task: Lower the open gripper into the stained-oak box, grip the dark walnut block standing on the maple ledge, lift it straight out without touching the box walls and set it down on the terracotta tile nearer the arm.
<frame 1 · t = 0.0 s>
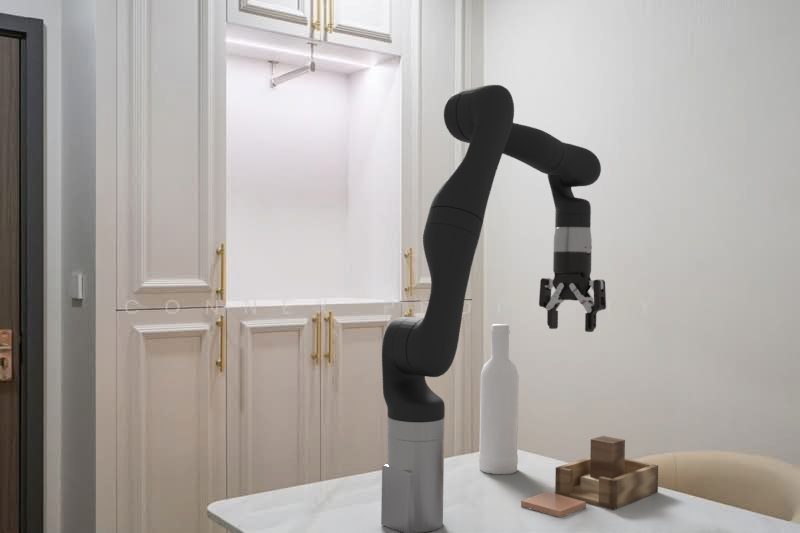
hand: (571, 330, 155), 29 cm above the table, fingers open, 8 cm apart
bottle: (497, 470, 158), on the table
oak box: (607, 493, 142), on the table
terracotta tile: (553, 506, 133), on the table
walnut block: (607, 477, 142), point 3 cm above the table, touching oak box
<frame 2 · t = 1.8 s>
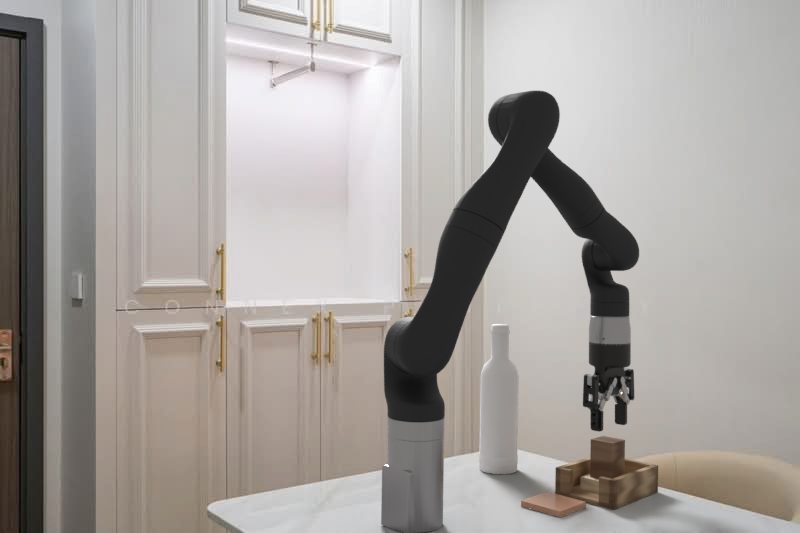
hand: (609, 427, 142), 12 cm above the table, fingers open, 8 cm apart
nothing on the table moved.
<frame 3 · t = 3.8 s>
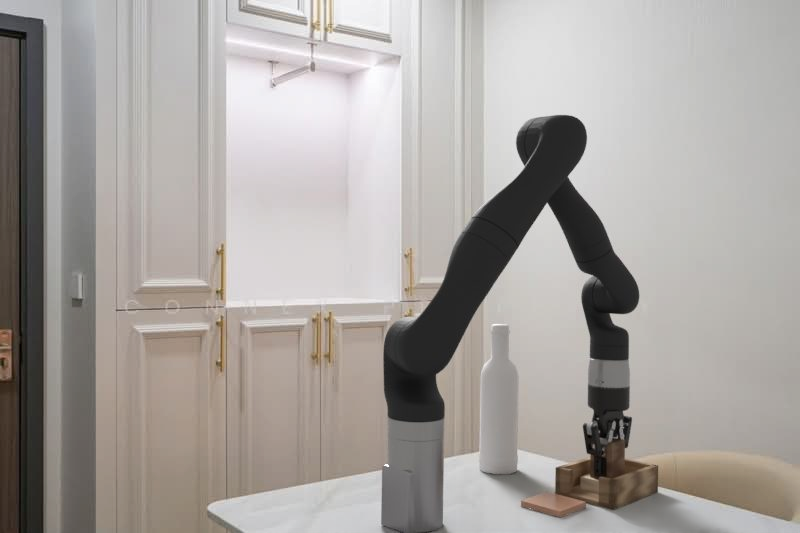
hand: (607, 474, 142), 4 cm above the table, fingers closed on walnut block, 4 cm apart
walnut block: (607, 477, 142), point 3 cm above the table, touching gripper, oak box
everything else where it was.
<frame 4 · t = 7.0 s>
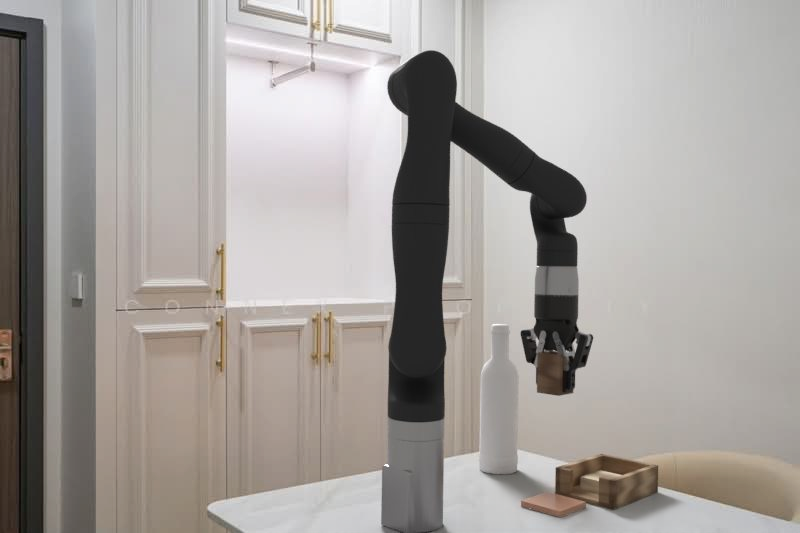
hand: (554, 389, 133), 20 cm above the table, fingers closed on walnut block, 4 cm apart
walnut block: (555, 392, 133), point 20 cm above the table, touching gripper
everything else where it was.
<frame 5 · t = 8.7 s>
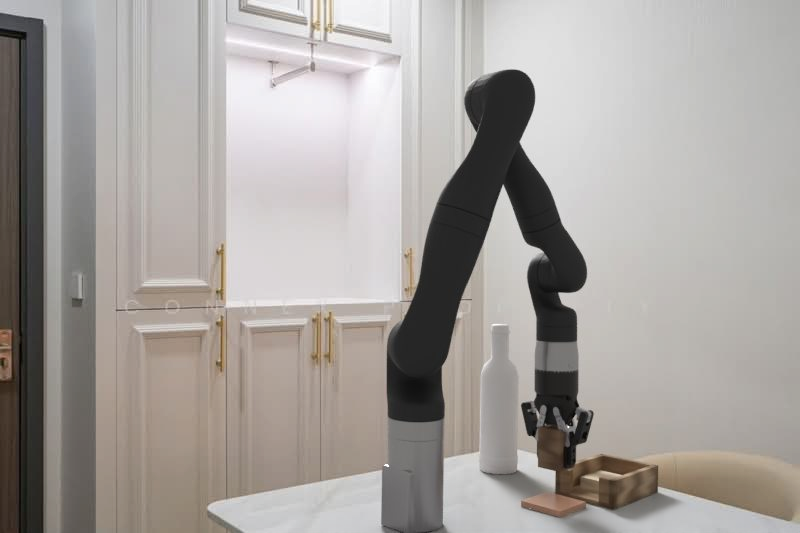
hand: (556, 464, 133), 7 cm above the table, fingers closed on walnut block, 4 cm apart
walnut block: (556, 467, 133), point 7 cm above the table, touching gripper
everything else where it was.
when the fingers open (3 cm above the table, at t = 10.3 s): walnut block drops 2 cm, resting on terracotta tile.
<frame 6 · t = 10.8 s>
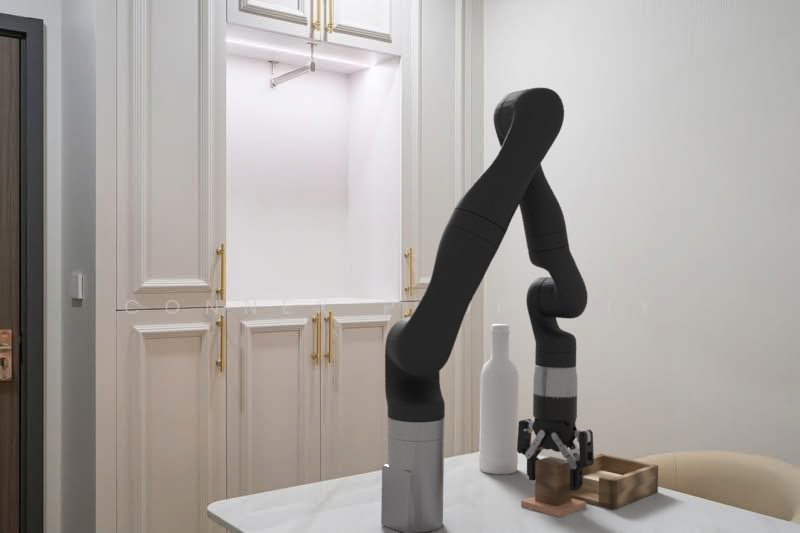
hand: (553, 484, 133), 4 cm above the table, fingers open, 8 cm apart
walnut block: (553, 501, 133), point 1 cm above the table, touching terracotta tile
everything else where it was.
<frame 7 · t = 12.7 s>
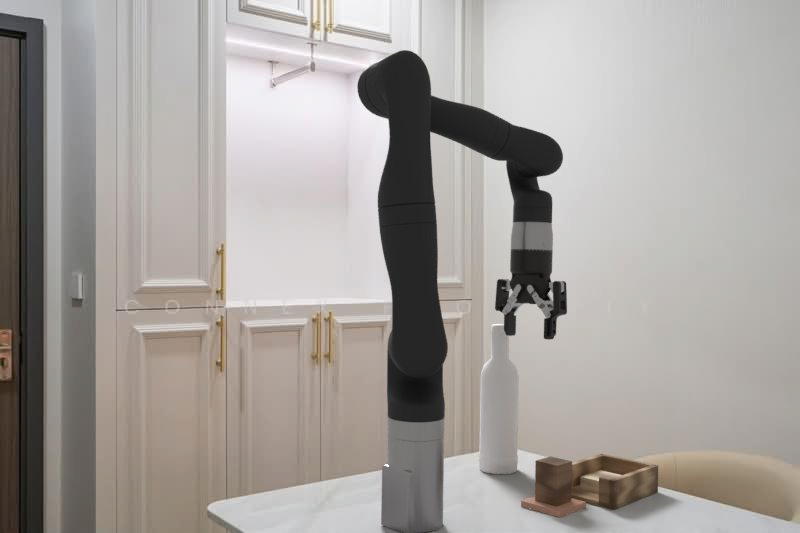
hand: (529, 337, 139), 29 cm above the table, fingers open, 8 cm apart
nothing on the table moved.
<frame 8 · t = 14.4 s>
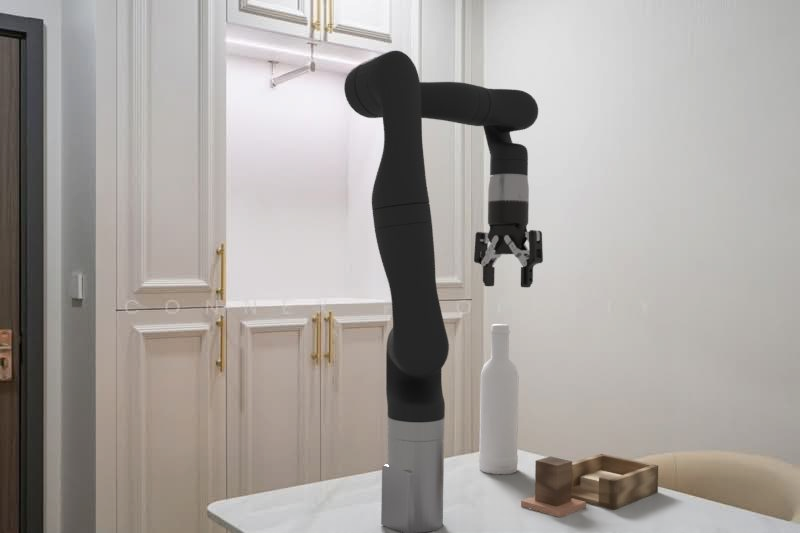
hand: (507, 286, 143), 38 cm above the table, fingers open, 8 cm apart
nothing on the table moved.
at the end: walnut block inside the target area on the terracotta tile (0.1 cm from its centre), point 1.0 cm above the terracotta tile's base; walnut block tilted 0°; walnut block touching terracotta tile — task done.
